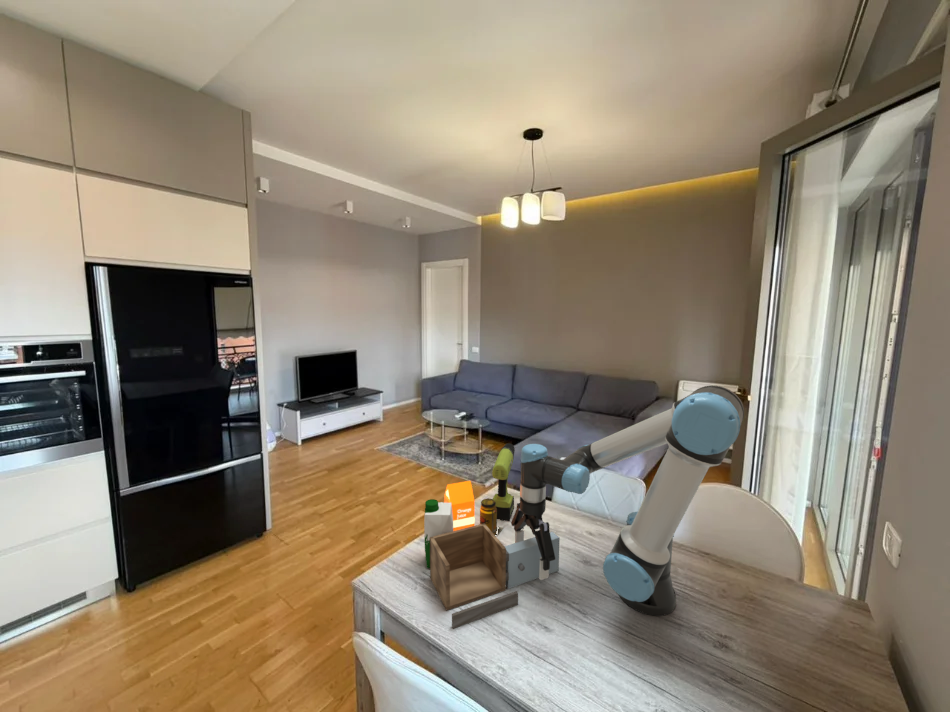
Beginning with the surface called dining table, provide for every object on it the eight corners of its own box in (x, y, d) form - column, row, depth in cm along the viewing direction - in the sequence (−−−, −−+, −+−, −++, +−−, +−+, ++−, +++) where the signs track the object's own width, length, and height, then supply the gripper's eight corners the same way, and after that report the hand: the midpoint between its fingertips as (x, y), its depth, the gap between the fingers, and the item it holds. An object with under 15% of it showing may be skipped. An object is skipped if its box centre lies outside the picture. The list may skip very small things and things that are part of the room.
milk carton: (426, 552, 127) (425, 495, 125) (454, 552, 127) (453, 495, 125) (423, 570, 119) (422, 509, 116) (452, 570, 119) (452, 509, 116)
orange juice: (444, 532, 139) (443, 479, 136) (467, 527, 142) (467, 476, 139) (450, 545, 131) (450, 489, 129) (474, 539, 135) (474, 485, 132)
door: (561, 573, 118) (562, 539, 116) (510, 591, 110) (510, 556, 109) (551, 564, 122) (552, 531, 121) (502, 581, 114) (502, 547, 113)
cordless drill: (502, 493, 168) (502, 438, 164) (518, 495, 166) (519, 439, 163) (489, 522, 145) (490, 458, 142) (508, 524, 144) (509, 460, 140)
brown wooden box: (519, 604, 105) (520, 560, 104) (453, 628, 97) (452, 581, 96) (487, 560, 123) (487, 522, 122) (428, 578, 115) (427, 537, 114)
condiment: (475, 535, 137) (475, 503, 136) (485, 523, 145) (485, 493, 143) (493, 540, 134) (494, 508, 132) (503, 528, 141) (503, 497, 140)
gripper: (570, 515, 103) (567, 587, 106) (521, 477, 126) (520, 537, 129) (546, 521, 100) (544, 595, 103) (501, 481, 123) (500, 543, 126)
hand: (530, 563), depth 116 cm, fingers open, 13 cm apart
